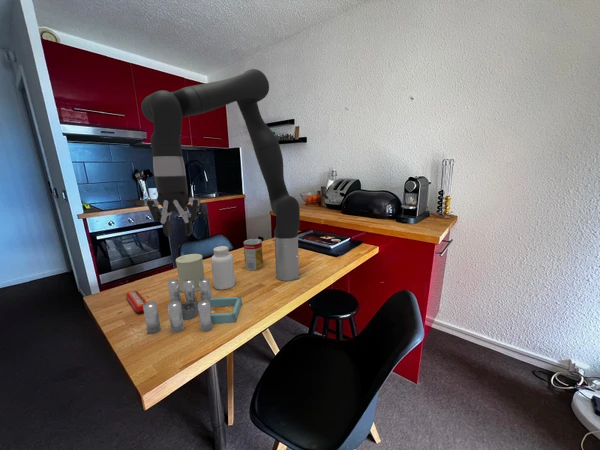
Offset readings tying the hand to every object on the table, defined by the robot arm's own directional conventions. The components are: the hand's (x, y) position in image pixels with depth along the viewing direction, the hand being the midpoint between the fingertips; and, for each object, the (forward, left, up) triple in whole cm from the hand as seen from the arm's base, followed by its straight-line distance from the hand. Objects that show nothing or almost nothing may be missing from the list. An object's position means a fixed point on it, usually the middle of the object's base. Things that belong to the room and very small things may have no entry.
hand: (178, 235), depth 71 cm
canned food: (-15, -36, -26) cm, 47 cm away
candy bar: (+20, -8, -26) cm, 34 cm away
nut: (0, 0, -26) cm, 26 cm away
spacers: (0, 0, -25) cm, 25 cm away
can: (+6, -19, -26) cm, 32 cm away
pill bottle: (-6, -19, -26) cm, 32 cm away
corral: (-10, 0, -25) cm, 27 cm away
